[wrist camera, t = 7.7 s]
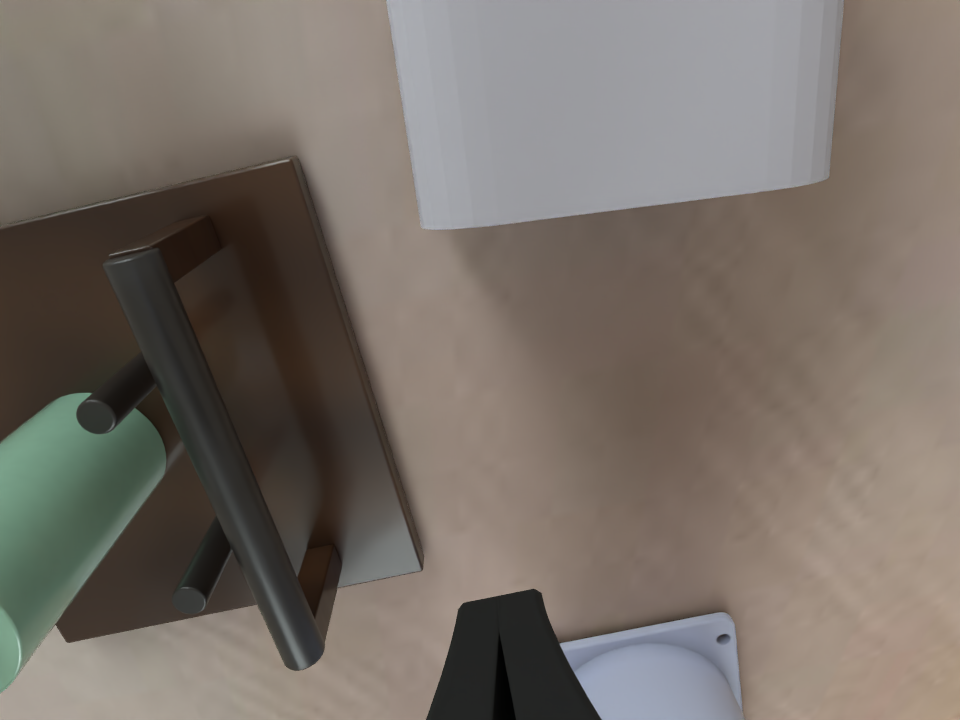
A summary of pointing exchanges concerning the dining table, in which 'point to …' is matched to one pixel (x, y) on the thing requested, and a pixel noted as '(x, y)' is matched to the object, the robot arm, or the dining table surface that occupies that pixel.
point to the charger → (610, 102)
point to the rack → (211, 400)
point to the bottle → (64, 514)
